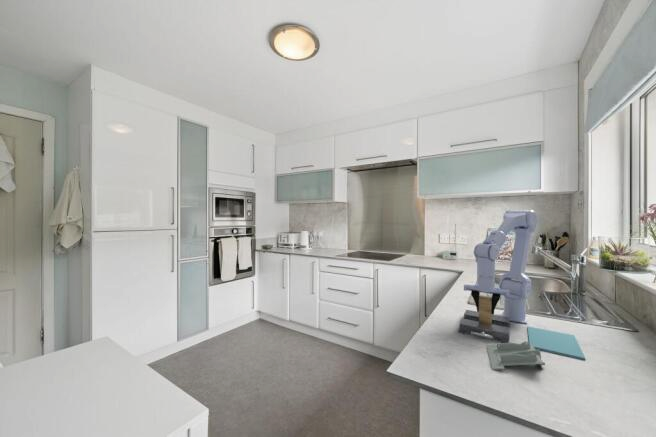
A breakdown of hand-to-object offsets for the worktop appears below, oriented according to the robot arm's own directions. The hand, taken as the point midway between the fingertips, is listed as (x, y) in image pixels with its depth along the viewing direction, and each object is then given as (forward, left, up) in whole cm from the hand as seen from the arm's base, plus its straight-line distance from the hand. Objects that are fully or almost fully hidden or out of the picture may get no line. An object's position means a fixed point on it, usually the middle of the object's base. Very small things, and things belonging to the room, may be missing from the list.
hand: (485, 312), depth 101 cm
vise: (0, 0, -6) cm, 6 cm away
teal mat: (0, +19, -6) cm, 20 cm away
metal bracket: (+22, +9, -7) cm, 24 cm away
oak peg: (0, 0, -3) cm, 3 cm away
